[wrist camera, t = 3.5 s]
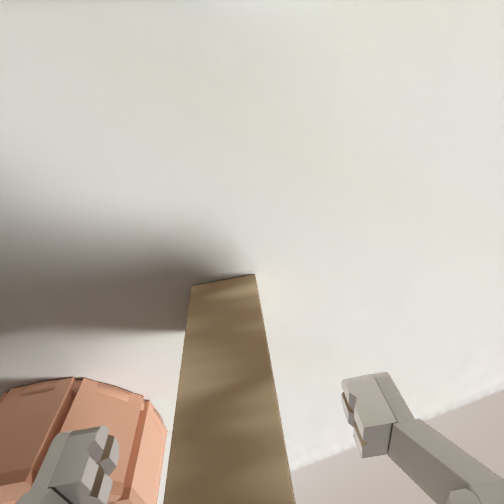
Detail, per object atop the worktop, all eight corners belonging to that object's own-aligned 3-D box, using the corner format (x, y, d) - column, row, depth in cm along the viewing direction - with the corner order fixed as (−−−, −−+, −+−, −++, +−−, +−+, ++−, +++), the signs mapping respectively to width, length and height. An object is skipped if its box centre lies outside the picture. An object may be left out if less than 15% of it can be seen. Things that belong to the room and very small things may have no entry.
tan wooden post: (255, 273, 14) (328, 685, 5) (264, 321, 16) (331, 697, 6) (190, 285, 14) (131, 720, 5) (205, 331, 16) (185, 723, 6)
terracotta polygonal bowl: (131, 365, 16) (101, 466, 12) (182, 454, 22) (173, 546, 18) (-50, 398, 16) (-140, 510, 12) (45, 479, 22) (4, 576, 18)
